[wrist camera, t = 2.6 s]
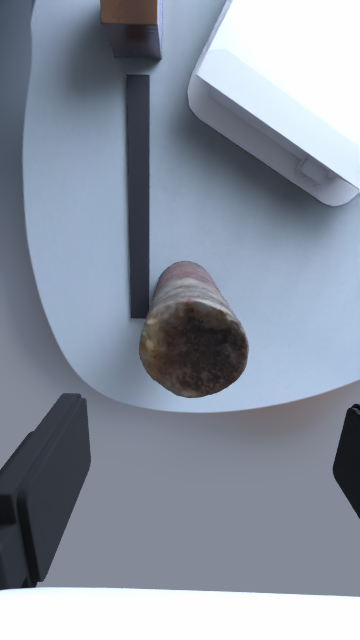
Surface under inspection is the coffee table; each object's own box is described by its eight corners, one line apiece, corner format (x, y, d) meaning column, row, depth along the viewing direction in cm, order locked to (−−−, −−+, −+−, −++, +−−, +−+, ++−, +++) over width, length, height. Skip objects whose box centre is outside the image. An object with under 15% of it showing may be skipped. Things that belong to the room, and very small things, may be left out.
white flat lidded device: (341, 215, 33) (362, 213, 30) (177, 104, 30) (176, 85, 26) (435, 82, 29) (472, 60, 26) (257, -63, 26) (270, -113, 22)
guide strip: (131, 317, 38) (131, 317, 37) (127, 75, 29) (126, 73, 29) (149, 317, 38) (148, 318, 37) (149, 76, 29) (149, 74, 29)
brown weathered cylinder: (221, 307, 37) (263, 385, 18) (169, 325, 38) (157, 418, 19) (202, 252, 35) (228, 274, 16) (148, 272, 36) (111, 317, 17)
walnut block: (114, 57, 29) (101, 22, 24) (112, -5, 28) (98, -55, 23) (161, 59, 29) (157, 25, 24) (162, -3, 28) (158, -52, 23)
